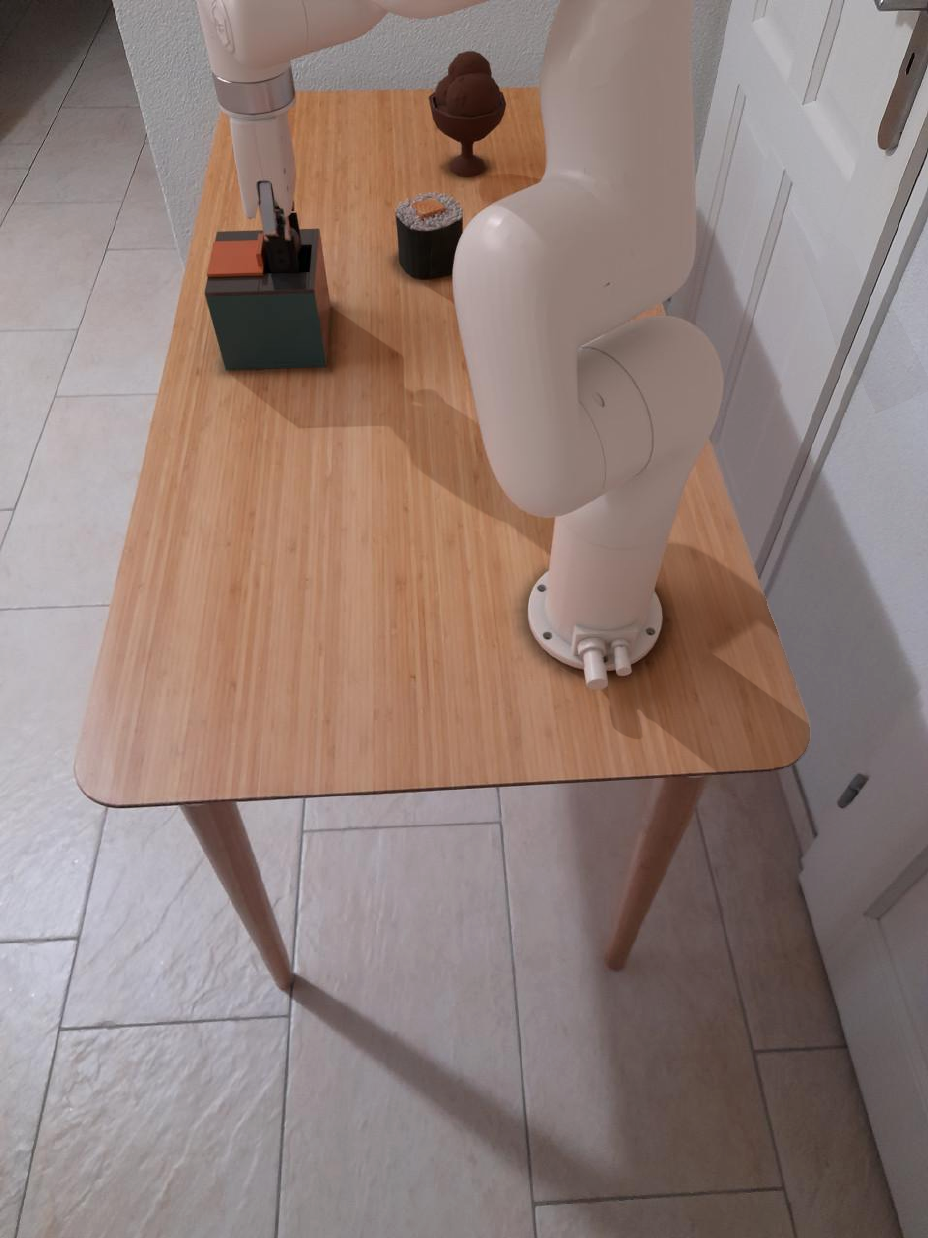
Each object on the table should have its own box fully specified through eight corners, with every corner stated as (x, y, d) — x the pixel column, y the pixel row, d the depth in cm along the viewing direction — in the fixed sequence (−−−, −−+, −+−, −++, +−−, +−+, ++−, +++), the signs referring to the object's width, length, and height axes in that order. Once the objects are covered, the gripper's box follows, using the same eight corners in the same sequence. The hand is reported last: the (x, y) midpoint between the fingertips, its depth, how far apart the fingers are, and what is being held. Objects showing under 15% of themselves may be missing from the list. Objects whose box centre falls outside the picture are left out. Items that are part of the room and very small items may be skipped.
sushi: (473, 268, 117) (473, 210, 110) (416, 286, 114) (413, 228, 108) (444, 238, 121) (443, 180, 114) (389, 254, 118) (385, 197, 112)
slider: (263, 275, 98) (259, 259, 96) (207, 277, 98) (203, 261, 96) (268, 242, 102) (264, 227, 100) (213, 244, 101) (210, 228, 100)
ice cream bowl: (418, 158, 133) (413, 48, 121) (485, 142, 136) (487, 33, 123) (447, 192, 127) (445, 81, 115) (516, 175, 130) (521, 64, 118)
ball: (302, 269, 99) (296, 236, 96) (266, 270, 99) (259, 237, 96) (304, 248, 101) (298, 215, 98) (269, 249, 101) (262, 216, 98)
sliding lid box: (326, 366, 105) (314, 289, 96) (225, 370, 105) (204, 292, 96) (330, 305, 112) (319, 228, 103) (236, 308, 112) (216, 231, 103)
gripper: (225, 48, 90) (259, 218, 105) (205, 129, 80) (246, 304, 95) (299, 46, 90) (323, 217, 105) (287, 127, 80) (316, 302, 95)
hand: (286, 257), depth 100 cm, fingers closed on ball, 3 cm apart
